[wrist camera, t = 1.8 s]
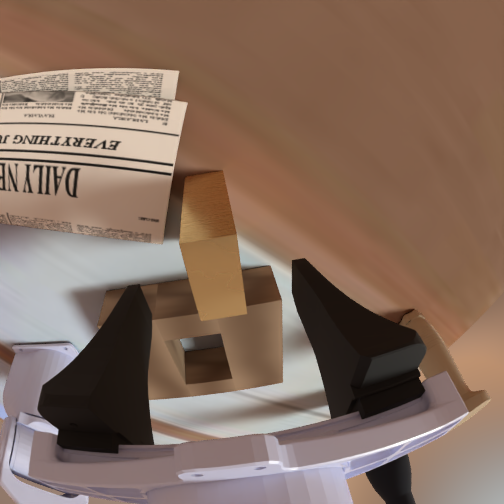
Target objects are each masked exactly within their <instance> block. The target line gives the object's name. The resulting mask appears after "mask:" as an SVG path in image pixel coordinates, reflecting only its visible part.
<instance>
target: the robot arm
mask: <svg viewBox="0 0 504 504" xmlns="http://www.w3.org/2000/svg"><path fill="white" fill-rule="evenodd" d="M292 295H293V298H294V302H295V305H296V309H297V312H298V314H299V317H300V319H301V321H302V324H303V326H304V328H305V331H306V333H307V335H308V338H309V340H310V343H311V345H312V347H313V350H314V353H315V356H316V359H317V363H318V366H319V370H320V373H321V377H322V381H323V384H324V388H325V392H326V397H327V401H328V405H329V410H330V414H331V419H330V420H326V421H322V422H318V423H314V424H310V425H306V426H302V427H298V428H293V429H288V430H284V431H279V432H273V433H268V434H252V435H245V436H238V437H230V438H222V439H213V440H203V441H192V442H186V443H181V444H170V445H154V440H153V434H152V427H151V419H150V409H149V395H148V369H149V359H150V350H151V341H152V313H151V310H150V308H149V306H148V303H147V301H146V299H145V296H144V294H143V291H142V289H141V287H140V284H138V285H131V286H128V287H127V288H126V290H125V291H124V293H123V294H122V296H121V297H120V299H119V301H118V302H117V304H116V305H115V307H114V309H113V310H112V312H111V313H110V315H109V316H108V318H107V319H106V321H105V322H104V324H103V325H102V326H101V328H100V329H99V331H98V332H97V333H96V335H95V336H94V337H93V339H92V340H91V341H90V342H89V343H88V345H87V346H86V347H85V348H84V349H83V350H82V351H81V352H80V353H78V351H77V350H76V349H75V347H74V346H73V345H72V344H71V343H57V344H35V345H13V347H12V349H13V350H14V352H15V353H16V354H15V357H14V360H13V362H12V365H11V368H10V371H9V375H8V378H7V381H6V384H5V388H4V392H3V403H4V408H5V411H6V413H7V415H8V417H6V418H5V419H4V422H3V425H2V428H1V432H0V485H1V487H2V488H3V489H4V490H5V491H6V493H7V494H8V495H9V496H10V497H11V499H12V500H13V501H14V502H15V503H16V504H88V498H89V497H95V498H100V499H106V500H112V501H120V502H127V503H135V504H353V501H352V498H351V495H350V491H349V488H348V485H347V481H346V479H348V478H351V477H354V476H357V475H359V474H362V473H364V472H367V471H370V470H372V469H374V468H377V467H379V466H382V465H384V464H386V463H388V462H391V461H393V460H395V459H397V458H399V457H402V456H404V455H406V454H408V453H410V452H412V451H414V450H416V449H418V448H420V447H422V446H424V445H426V444H428V443H430V442H432V441H434V440H436V439H437V438H439V437H441V436H443V435H445V434H446V433H447V432H448V431H450V430H451V429H452V428H453V427H454V426H455V425H457V424H458V423H459V422H460V421H461V420H462V419H463V418H464V417H465V416H467V415H468V413H469V411H468V409H467V408H466V406H465V404H464V402H463V400H462V398H461V396H460V394H459V392H458V391H457V389H456V387H455V385H454V383H453V382H452V380H451V378H450V376H449V374H448V373H447V371H443V372H441V373H439V374H436V375H434V376H432V377H430V378H428V379H426V380H424V381H423V382H422V383H421V381H420V380H419V377H420V372H419V370H418V367H419V365H420V363H421V362H422V360H423V358H424V356H425V354H426V351H427V347H426V345H425V344H424V342H423V340H422V339H421V337H420V336H419V334H418V333H417V331H416V330H414V329H411V328H408V327H405V326H402V325H399V324H397V323H394V322H392V321H390V320H387V319H385V318H383V317H381V316H379V315H377V314H375V313H373V312H371V311H369V310H368V309H366V308H364V307H363V306H361V305H359V304H358V303H356V302H355V301H353V300H352V299H350V298H349V297H348V296H346V295H345V294H344V293H343V292H341V291H340V290H339V289H338V288H336V287H335V286H334V285H333V284H332V283H331V282H329V281H328V280H327V279H326V278H325V277H324V276H323V275H322V274H321V273H320V272H319V271H317V270H316V269H315V268H314V267H313V266H312V265H311V264H310V263H309V262H308V261H307V260H306V259H305V258H303V259H297V260H292ZM13 474H15V475H17V476H19V477H22V478H24V479H27V480H29V481H32V482H34V483H37V484H40V485H43V486H46V487H48V488H51V489H55V490H57V491H60V492H64V493H65V494H63V495H56V494H53V493H50V492H47V491H44V490H41V489H38V488H36V487H33V486H30V485H28V484H25V483H23V482H21V481H19V480H18V479H17V478H16V477H15V476H14V475H13Z"/></svg>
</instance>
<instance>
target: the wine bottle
mask: <svg viewBox="0 0 504 504" xmlns="http://www.w3.org/2000/svg"><path fill="white" fill-rule="evenodd" d="M365 473H366V476H367V477H368V479H369V481H370V483H371V484H372V486H373V488H374V489H375V491H376V492H377V493H378V494H379V495H380V496H381V497H382V499H383V500H384V501H385V502H386V504H415V501H414V498H413V495H412V492H411V468H410V462H409V457H408V455H407V454H406V455H404V456H402V457H399V458H397V459H395V460H393V461H391V462H388V463H386V464H384V465H382V466H379V467H377V468H374V469H372V470H370V471H367V472H365Z"/></svg>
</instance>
